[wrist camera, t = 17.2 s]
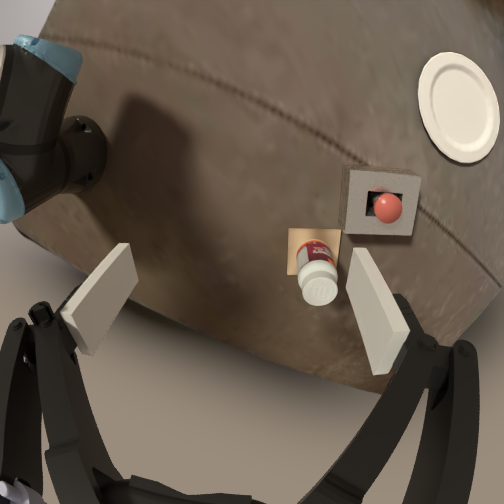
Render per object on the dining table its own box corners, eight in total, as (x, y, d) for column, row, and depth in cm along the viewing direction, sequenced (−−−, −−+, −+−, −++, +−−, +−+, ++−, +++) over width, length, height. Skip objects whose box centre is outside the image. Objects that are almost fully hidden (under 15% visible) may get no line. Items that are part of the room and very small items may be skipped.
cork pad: (287, 273, 51) (287, 274, 51) (288, 228, 47) (288, 229, 46) (334, 273, 50) (335, 275, 50) (340, 229, 46) (340, 230, 45)
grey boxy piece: (338, 222, 45) (344, 234, 41) (342, 163, 41) (350, 169, 36) (400, 224, 44) (411, 236, 40) (408, 169, 40) (421, 176, 35)
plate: (467, 182, 39) (472, 185, 37) (394, 111, 36) (398, 111, 34) (506, 107, 29) (511, 108, 28) (439, 31, 26) (444, 30, 25)
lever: (362, 208, 43) (374, 223, 37) (365, 183, 41) (377, 194, 35) (386, 209, 42) (399, 224, 37) (389, 185, 40) (404, 196, 35)
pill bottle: (336, 246, 47) (349, 283, 37) (319, 273, 50) (327, 313, 40) (305, 232, 46) (312, 267, 36) (289, 261, 49) (291, 300, 39)
